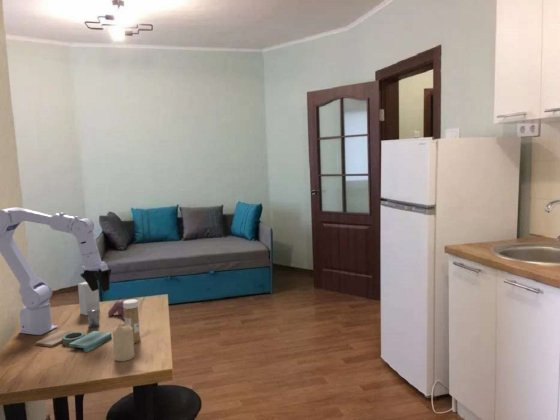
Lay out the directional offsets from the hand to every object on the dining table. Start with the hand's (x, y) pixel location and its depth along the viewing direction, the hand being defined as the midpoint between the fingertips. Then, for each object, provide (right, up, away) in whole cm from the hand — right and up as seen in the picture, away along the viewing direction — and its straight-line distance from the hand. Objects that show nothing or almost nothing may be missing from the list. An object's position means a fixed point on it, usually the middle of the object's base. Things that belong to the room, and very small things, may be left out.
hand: (100, 290), depth 159 cm
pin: (-4, -13, +3) cm, 14 cm away
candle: (+16, -16, -23) cm, 32 cm away
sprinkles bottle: (+15, -15, -11) cm, 24 cm away
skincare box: (-11, -12, +19) cm, 25 cm away
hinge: (-5, -15, -10) cm, 18 cm away
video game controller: (+3, -12, +14) cm, 18 cm away
